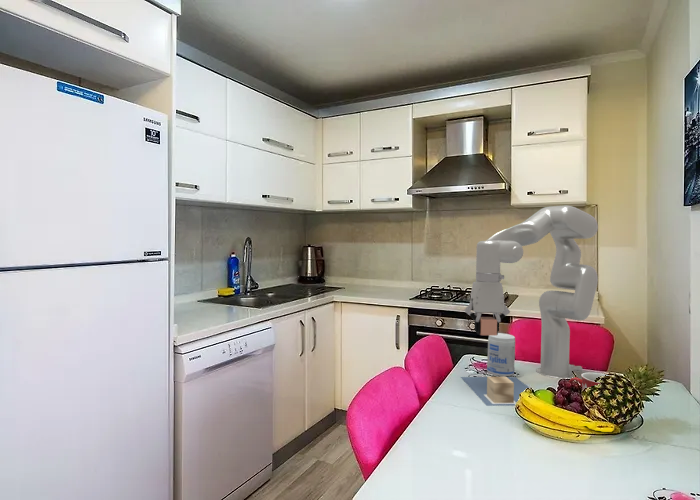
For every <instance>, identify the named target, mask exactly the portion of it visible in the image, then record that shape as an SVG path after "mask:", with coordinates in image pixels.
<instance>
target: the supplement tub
mask: <svg viewBox="0 0 700 500" xmlns="http://www.w3.org/2000/svg"><path fill="white" fill-rule="evenodd" d="M515 357H516V337H515V335H513V334H509V333H503V332H498V335H488V339H487V358H486V359H487V361H486V371H487V372H488V373H489V374H491V375H494V376H498V377H512V376H514V374H515ZM487 372H486V373H487Z"/></svg>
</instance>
